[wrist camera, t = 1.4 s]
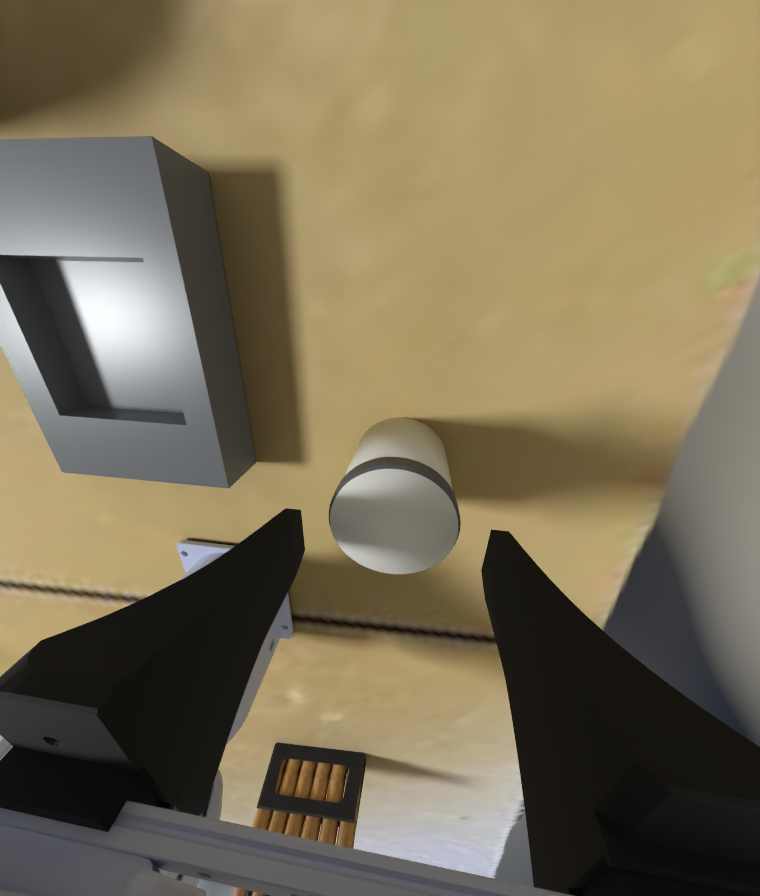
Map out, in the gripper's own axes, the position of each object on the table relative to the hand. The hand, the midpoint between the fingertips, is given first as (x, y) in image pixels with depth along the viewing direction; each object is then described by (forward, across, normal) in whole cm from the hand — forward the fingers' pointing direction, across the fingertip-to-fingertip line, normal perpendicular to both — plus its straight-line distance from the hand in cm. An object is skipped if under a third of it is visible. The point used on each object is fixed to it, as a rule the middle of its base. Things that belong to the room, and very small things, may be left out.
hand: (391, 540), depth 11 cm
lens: (+7, 0, 0) cm, 7 cm away
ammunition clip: (+7, +7, +39) cm, 40 cm away
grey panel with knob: (+7, +14, -6) cm, 17 cm away
